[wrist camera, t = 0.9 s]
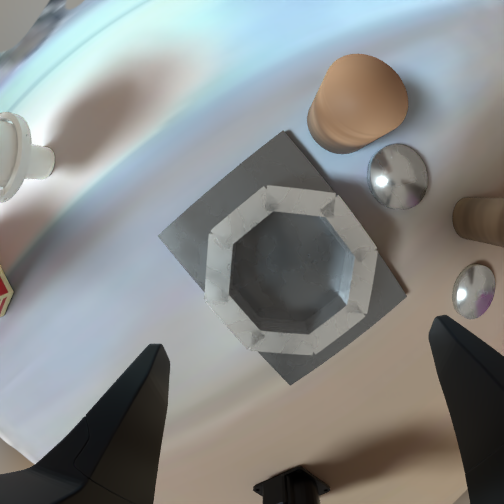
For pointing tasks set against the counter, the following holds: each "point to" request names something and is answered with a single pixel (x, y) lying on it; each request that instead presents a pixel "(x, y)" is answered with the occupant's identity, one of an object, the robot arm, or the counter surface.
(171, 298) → the counter surface
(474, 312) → the disc
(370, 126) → the cherry stub
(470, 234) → the walnut peg
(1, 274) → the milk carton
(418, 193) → the disc
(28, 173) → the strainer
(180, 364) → the counter surface
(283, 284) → the octagonal socket plate
